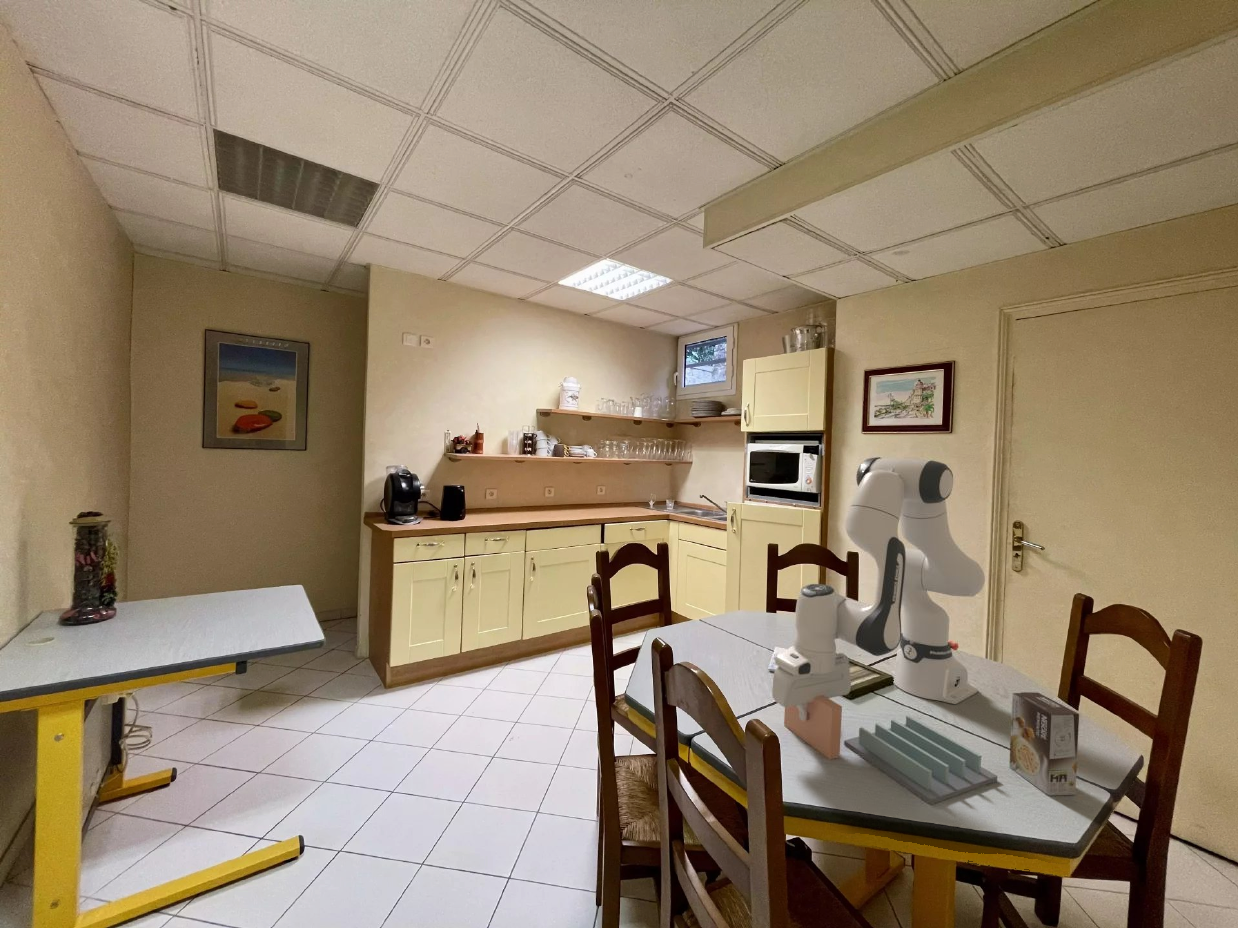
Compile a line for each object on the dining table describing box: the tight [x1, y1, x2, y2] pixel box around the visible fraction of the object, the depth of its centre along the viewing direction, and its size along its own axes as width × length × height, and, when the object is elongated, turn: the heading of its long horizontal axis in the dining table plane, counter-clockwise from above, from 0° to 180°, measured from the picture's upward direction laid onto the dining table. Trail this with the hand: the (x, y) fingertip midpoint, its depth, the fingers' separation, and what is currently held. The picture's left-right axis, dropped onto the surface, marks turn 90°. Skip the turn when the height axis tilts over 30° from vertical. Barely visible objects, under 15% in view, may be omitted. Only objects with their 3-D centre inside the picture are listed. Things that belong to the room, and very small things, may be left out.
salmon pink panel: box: [783, 695, 843, 760], centre depth 112 cm, size 3×14×11 cm, turn 23°
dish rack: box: [843, 715, 998, 806], centre depth 105 cm, size 20×20×4 cm
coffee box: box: [1008, 691, 1080, 796], centre depth 100 cm, size 9×6×16 cm
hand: (811, 717), depth 112 cm, fingers closed on salmon pink panel, 3 cm apart
